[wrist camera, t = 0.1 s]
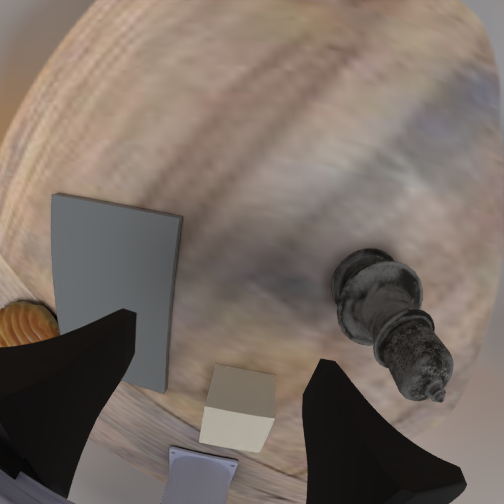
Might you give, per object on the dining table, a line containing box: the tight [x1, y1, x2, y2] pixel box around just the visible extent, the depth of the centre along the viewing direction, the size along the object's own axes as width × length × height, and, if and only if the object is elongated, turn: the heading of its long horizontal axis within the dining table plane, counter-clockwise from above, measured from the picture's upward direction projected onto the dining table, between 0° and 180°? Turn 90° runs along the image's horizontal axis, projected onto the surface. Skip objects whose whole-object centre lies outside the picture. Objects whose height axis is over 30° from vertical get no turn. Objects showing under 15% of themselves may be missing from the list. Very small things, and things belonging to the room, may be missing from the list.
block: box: [199, 364, 275, 453], centre depth 21 cm, size 5×5×5 cm
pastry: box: [0, 301, 60, 347], centre depth 22 cm, size 9×7×4 cm
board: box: [51, 193, 183, 394], centre depth 21 cm, size 16×11×1 cm
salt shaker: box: [331, 249, 454, 403], centre depth 14 cm, size 6×6×12 cm
